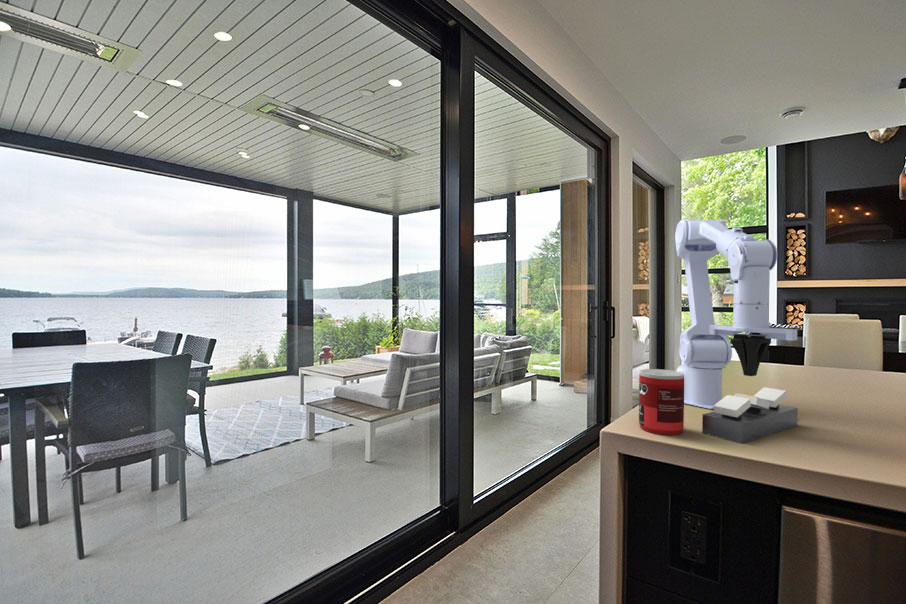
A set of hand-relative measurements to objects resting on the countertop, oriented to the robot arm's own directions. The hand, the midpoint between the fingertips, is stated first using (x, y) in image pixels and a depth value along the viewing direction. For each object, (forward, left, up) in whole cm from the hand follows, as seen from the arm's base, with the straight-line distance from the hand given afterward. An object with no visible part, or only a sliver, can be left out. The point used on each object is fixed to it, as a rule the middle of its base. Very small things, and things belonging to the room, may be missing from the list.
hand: (750, 375), depth 88 cm
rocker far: (0, +8, -5) cm, 9 cm away
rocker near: (0, -6, -5) cm, 8 cm away
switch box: (0, +4, -11) cm, 11 cm away
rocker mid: (0, +1, -5) cm, 5 cm away
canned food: (-9, -14, -11) cm, 20 cm away
